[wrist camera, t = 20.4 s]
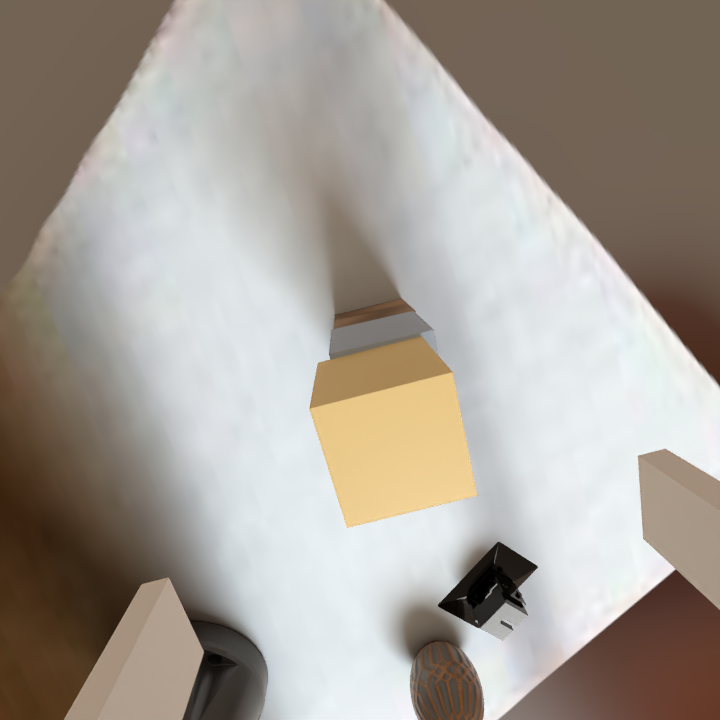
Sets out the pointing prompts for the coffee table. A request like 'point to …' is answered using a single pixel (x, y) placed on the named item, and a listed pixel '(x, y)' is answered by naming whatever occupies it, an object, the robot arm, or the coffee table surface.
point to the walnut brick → (372, 313)
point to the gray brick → (379, 334)
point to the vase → (445, 684)
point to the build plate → (492, 592)
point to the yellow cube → (391, 431)
